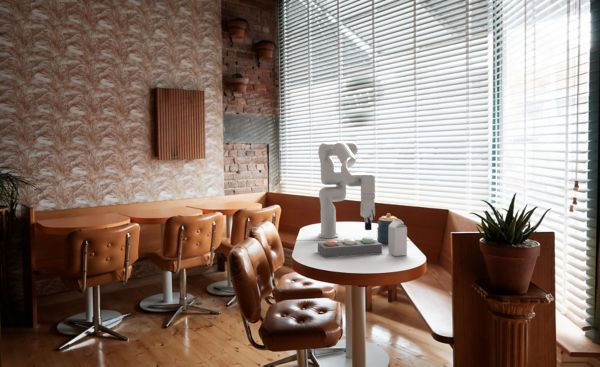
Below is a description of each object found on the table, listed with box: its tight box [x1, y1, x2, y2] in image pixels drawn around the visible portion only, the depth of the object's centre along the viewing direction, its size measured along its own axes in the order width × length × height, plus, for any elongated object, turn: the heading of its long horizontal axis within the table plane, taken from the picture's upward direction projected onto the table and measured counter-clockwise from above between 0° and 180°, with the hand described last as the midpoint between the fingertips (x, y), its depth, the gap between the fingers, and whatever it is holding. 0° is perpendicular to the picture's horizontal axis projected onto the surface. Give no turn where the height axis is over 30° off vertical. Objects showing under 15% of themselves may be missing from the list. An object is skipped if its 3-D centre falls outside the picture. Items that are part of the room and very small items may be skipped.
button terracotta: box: [325, 239, 338, 247], centre depth 225 cm, size 6×6×3 cm
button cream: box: [343, 238, 356, 245], centre depth 228 cm, size 6×6×3 cm
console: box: [317, 239, 383, 259], centre depth 228 cm, size 13×32×5 cm, turn 103°
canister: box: [376, 212, 397, 246], centre depth 249 cm, size 13×13×18 cm
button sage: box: [361, 236, 374, 244], centre depth 230 cm, size 6×6×3 cm
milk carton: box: [387, 217, 408, 257], centre depth 223 cm, size 7×7×19 cm
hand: (368, 229), depth 229 cm, fingers closed
